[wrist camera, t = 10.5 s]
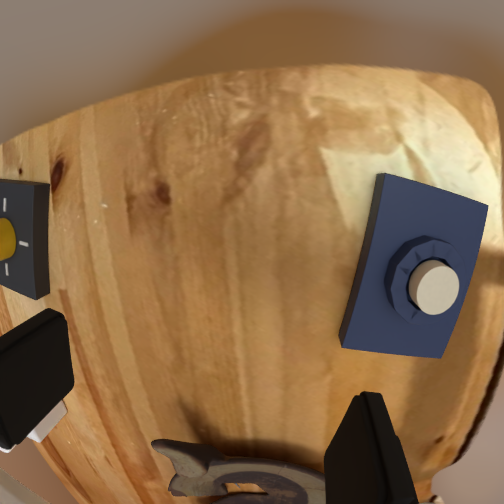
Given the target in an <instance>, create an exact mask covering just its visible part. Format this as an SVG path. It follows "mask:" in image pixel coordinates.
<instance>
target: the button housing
mask: <svg viewBox="0 0 504 504" xmlns="http://www.w3.org/2000/svg"><path fill="white" fill-rule="evenodd" d="M487 211H488V205H486V204H483V203H481V202H478V201H475V200H472V199H469V198H466V197H464V196H461V195H458V194H455V193H452V192H449V191H445V190H442V189H439V188H436V187H433V186H430V185H426V184H423V183H420V182H416V181H413V180H409V179H406V178H402V177H398V176H395V175H391V174H387V173H379V174H377V178H376V184H375V189H374V195H373V200H372V205H371V210H370V215H369V220H368V224H367V229H366V234H365V238H364V242H363V247H362V251H361V255H360V259H359V263H358V267H357V271H356V275H355V279H354V283H353V287H352V290H351V294H350V298H349V301H348V305H347V308H346V312H345V315H344V318H343V322H342V325H341V328H340V332H339V335H338V336H339V339H340V343H341V347H342V348H347V349H355V350H362V351H370V352H378V353H387V354H396V355H406V356H417V357H428V358H441V357H442V355H443V353H444V351H445V348H446V346H447V344H448V341H449V339H450V336H451V334H452V331H453V329H454V326H455V324H456V321H457V319H458V316H459V313H460V310H461V308H462V305H463V302H464V299H465V296H466V293H467V290H468V287H469V284H470V280H471V277H472V274H473V270H474V267H475V263H476V260H477V256H478V252H479V248H480V244H481V240H482V235H483V231H484V226H485V222H486V217H487ZM428 260H437V261H440V262H442V263H443V264H445V265H446V266H448V267H450V268H451V269H452V270H454V272H455V273H456V275H457V277H458V280H459V291H458V295H457V297H456V299H455V301H454V303H453V304H452V305H451V307H450V308H448V309H447V310H446V311H444V312H442V313H440V314H436V315H430V314H427V313H425V312H423V311H422V310H421V309H420V308H419V307H418V306H417V304H416V303H415V302H414V301H413V300H412V299H411V297H410V294H409V280H410V277H411V275H412V273H413V271H414V270H415V269H416V268H417V267H418V266H419V265H420V264H421V263H423V262H425V261H428Z"/></svg>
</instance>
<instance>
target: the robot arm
mask: <svg viewBox="0 0 504 504" xmlns="http://www.w3.org/2000/svg"><path fill="white" fill-rule="evenodd" d="M73 386H74V375H73V368H72V361H71V354H70V345H69V336H68V326H67V321H66V320H65V317H64V315H63V314H62V313H60V312H58V311H55V310H53V309H51V308H47V309H45V310H43V311H42V312H40V313H38V314H37V315H35V316H33V317H32V318H30V319H28V320H27V321H25V322H23V323H22V324H20V325H18V326H17V327H15V328H14V329H12V330H10V331H9V332H7V333H5V334H4V335H2V336H1V337H0V442H2V443H3V444H4V445H5V446H7V447H8V448H9V449H11V448H12V447H13V446H14V445H15V444H16V445H18V444H20V443H21V442H22V441H23V440H24V439H25V438H26V437H27V436H28V434H29V433H30V432H31V431H32V430H33V429H34V428H35V427H36V426H37V425H38V424H39V423H40V422H41V421H42V420H43V419H44V418H45V417H46V416H47V415H48V414H49V413H50V411H51V410H52V409H53V408H54V407H55V406H56V405H57V404H58V403H59V402H60V401H61V400H62V399H63V398H64V397H65V396H66V395H67V394H68V393H69V392H70V391H71V390H72V388H73ZM324 473H325V494H326V504H419V502H418V499H417V495H416V491H415V488H414V484H413V481H412V478H411V474H410V471H409V468H408V464H407V461H406V458H405V455H404V452H403V449H402V446H401V443H400V440H399V438H398V436H396V435H395V432H394V429H393V426H392V423H391V420H390V417H389V414H388V411H387V408H386V405H385V402H384V400H383V397H382V395H381V394H380V393H375V392H365V391H363V392H361V393H360V395H355V396H354V398H353V399H352V401H351V404H350V406H349V408H348V410H347V412H346V414H345V416H344V418H343V420H342V422H341V424H340V426H339V428H338V430H337V431H336V433H335V435H334V437H333V439H332V441H331V443H330V445H329V446H328V448H327V450H326V452H325V456H324ZM0 504H51V503H50V502H48V501H46V500H45V499H43V498H42V497H40V496H38V495H37V494H36V493H34V492H33V491H31V490H30V489H28V488H27V487H26V486H24V485H23V484H21V483H20V482H19V481H17V480H16V479H14V478H13V477H12V476H11V475H9V474H8V473H7V472H5V471H4V470H3V469H2V468H0ZM421 504H435V503H426V502H425V503H421Z"/></svg>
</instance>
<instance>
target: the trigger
mask: <svg viewBox="0 0 504 504" xmlns="http://www.w3.org/2000/svg"><path fill="white" fill-rule="evenodd" d="M458 291H459V280H458V277H457V275H456V273H455V272H454V270H452V269H451V268H450V267H448V266H446V265H445V264H443V263H442V262H440V261H437V260H428V261H425V262H423V263H421V264H420V265H419V266H418V267H417V268H416V269H415V270H414V271H413V273H412V275H411V277H410V280H409V294H410V297H411V299H412V300H413V301H414V302H415V303H416V304H417V306H418V307H419V308H420V309H421V310H422V311H423V312H425V313H427V314H430V315H436V314H440V313H442V312H444V311H446V310H447V309H448V308H450V307H451V305H452V304H453V303H454V301H455V299H456V297H457V295H458Z"/></svg>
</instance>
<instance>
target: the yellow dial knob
mask: <svg viewBox="0 0 504 504" xmlns="http://www.w3.org/2000/svg"><path fill="white" fill-rule="evenodd" d="M15 248H16V236H15V232H14V228H13V226H12V224H11V223H10V221H9V220H7V219H6V218H0V261H2V260H4V259H7V258H10V257H11V256H12V255H13V254H14V252H15Z"/></svg>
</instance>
